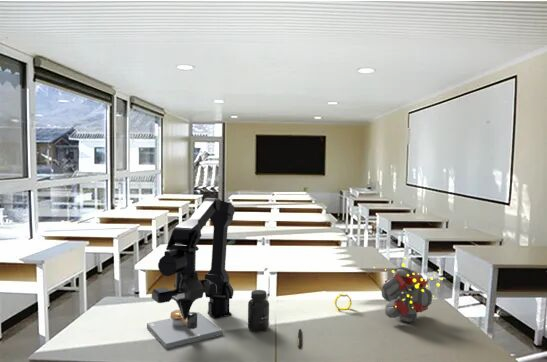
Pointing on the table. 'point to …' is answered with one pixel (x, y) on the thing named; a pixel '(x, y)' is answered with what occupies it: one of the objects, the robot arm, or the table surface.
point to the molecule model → (406, 294)
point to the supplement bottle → (258, 311)
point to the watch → (343, 296)
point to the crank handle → (190, 320)
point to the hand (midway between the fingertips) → (184, 319)
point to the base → (182, 331)
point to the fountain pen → (299, 339)
